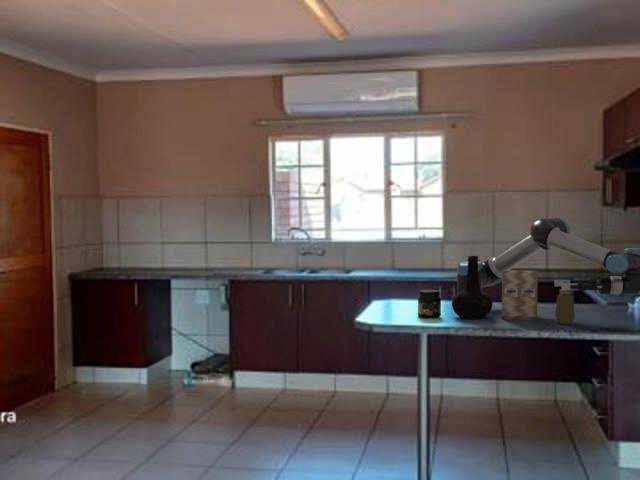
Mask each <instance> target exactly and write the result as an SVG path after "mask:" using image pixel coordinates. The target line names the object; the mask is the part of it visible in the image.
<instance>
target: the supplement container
mask: <svg viewBox="0 0 640 480" xmlns="http://www.w3.org/2000/svg"><path fill="white" fill-rule="evenodd" d="M441 307H442V298H441V291H440V290H439V289H420V290H418V297H417V316H418V317H419V318H420V317H421V319H428V318H432V319H438V318H440V317H441V316H442V308H441Z"/></svg>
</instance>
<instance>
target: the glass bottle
mask: <svg viewBox="0 0 640 480" xmlns="http://www.w3.org/2000/svg"><path fill="white" fill-rule="evenodd" d="M467 261H468V271H467V278H466V283H465V287H464V289H463V290H462V291H461V292H459V293H457V292H456V294H455V295H454V296H453V297H452V300H451V306H452V309H453V312H454V313H455V315H457V316H458V317H459V318H461V319H464V320H465V319H467V320H480V319H484V318H486V317H487V316H488V315H489V314H490V312H491V311H492V308H493V302H494V301H493V298H492V297H491V296H490V295H489V293H487V292H484V291H483V289H482V290H481V289H480V285H479V277H478V261H480V259H479V256H478V255H468V256H467ZM480 262H481V261H480Z"/></svg>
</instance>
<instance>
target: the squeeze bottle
mask: <svg viewBox="0 0 640 480" xmlns="http://www.w3.org/2000/svg"><path fill="white" fill-rule="evenodd" d="M564 283H567V281H564ZM556 297H557V298H556V303H555V304H556V305H555V312H554V313H555V314H554V316H555V319H556V321H557V324H560V325H572V324H573V323H574V320H575V315H576V313H575V305H574V304H575V303H574V296H573V295H572V290H562V289H559V294H558V295H557V296H556Z"/></svg>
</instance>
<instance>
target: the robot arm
mask: <svg viewBox="0 0 640 480" xmlns="http://www.w3.org/2000/svg"><path fill="white" fill-rule="evenodd" d="M529 234H530V235H528V236H527V237H525V238H524V239H522V240H520V241H519V242H517V243H516V244H515V245H513V246H511V247H510V248H508V249H507V250H506V251H504V252H502V253H501V254H499V255H498V256H496V257H495V256H491V257H489V258H487V259H485V260H484V261H483V262H481V261H478V277H479V285H480V289H481V290H482V291H483V288H486V287H493V286H496V285H498V284H500V283H502V271H512V269H513V268H516V267H517V266H519V265H520V264H522V263H523V262H524V261H526V260H528V259H530V258H532V256H535V255H536V254H537V253H539V252H541V251H542V250H543V251H548V250H550V249H552V248H555V249H558V250H560V251H563V252H565V253H568V254H569V255H570V254H571V255H572V256H575V257H577V258H580V259H582V260H585V261H588V262H591V263H593V264H596V265H598V266H600V267H603V268H606V269H607V271H609V272H610V273H612V274H622V273H623V276H620V275H619V276H618V275H615V276H614V275H611V276H607V275H605V276H599V278H598V281H597V280H594V279H590V280H589V279H588V280H587V279H586V280H585V279H573V278H572V279H571V278H570V279H554V285H553V287H561V290H571V291H581V292H583V291H586V292H587V291H598V293H599V294H600V295H609V294H610V295H615V296H618V295H636V296H637V295H640V248H639V247H629V248H628V247H627V248H625V249H624V250H623V251H624V252H623V253H619V252H617V251H613V250H611V249H609V248H606V247H605V246H601V245H598V244H595V243H593V242H590V241H588V240H585V239H582V238H579V237H578V236H575V235H572V234H571V228H570V225H569V223H568V222H567V221H566V220H564V219H563V218H559V217H554V218H540V219H537V220H536V221H534V222H533V223H532V225H531V227H530V230H529ZM467 271H468V260H466V261H462V262H459V263H458V265H457V269H456V274H457V275H456V278H457V279H456V280H457V281H456V284H457V286H456V289H457V292H456V294H457V293H459V292H461V291H462V290H463V289H464V287H465V283H466V278H467ZM564 281H567V283H564Z"/></svg>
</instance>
